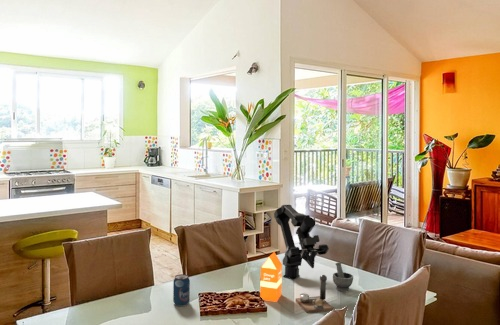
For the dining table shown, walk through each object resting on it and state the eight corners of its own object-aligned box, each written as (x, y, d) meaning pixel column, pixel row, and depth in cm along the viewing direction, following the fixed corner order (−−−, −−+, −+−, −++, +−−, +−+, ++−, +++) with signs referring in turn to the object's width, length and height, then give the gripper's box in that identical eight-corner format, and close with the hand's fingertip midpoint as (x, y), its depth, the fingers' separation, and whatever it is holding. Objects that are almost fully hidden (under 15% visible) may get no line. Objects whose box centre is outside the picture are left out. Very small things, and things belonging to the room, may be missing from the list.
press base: (295, 301, 180) (295, 290, 180) (320, 298, 183) (320, 288, 183) (307, 313, 167) (307, 302, 167) (333, 310, 171) (334, 299, 170)
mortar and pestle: (356, 292, 192) (357, 267, 191) (338, 293, 189) (339, 268, 189) (344, 283, 203) (345, 260, 202) (327, 285, 200) (328, 261, 200)
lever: (299, 299, 179) (299, 273, 178) (325, 299, 179) (325, 273, 178) (300, 302, 175) (301, 276, 174) (326, 303, 175) (327, 276, 174)
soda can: (182, 308, 170) (182, 280, 170) (169, 304, 174) (170, 277, 173) (192, 302, 176) (193, 275, 175) (180, 299, 180) (180, 272, 179)
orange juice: (281, 294, 187) (282, 252, 186) (276, 302, 179) (277, 257, 178) (265, 292, 190) (266, 250, 188) (259, 299, 181) (260, 255, 180)
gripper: (289, 231, 188) (297, 262, 178) (326, 227, 191) (336, 258, 182) (284, 242, 196) (292, 273, 187) (321, 238, 200) (330, 268, 191)
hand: (313, 267), depth 186 cm, fingers closed
